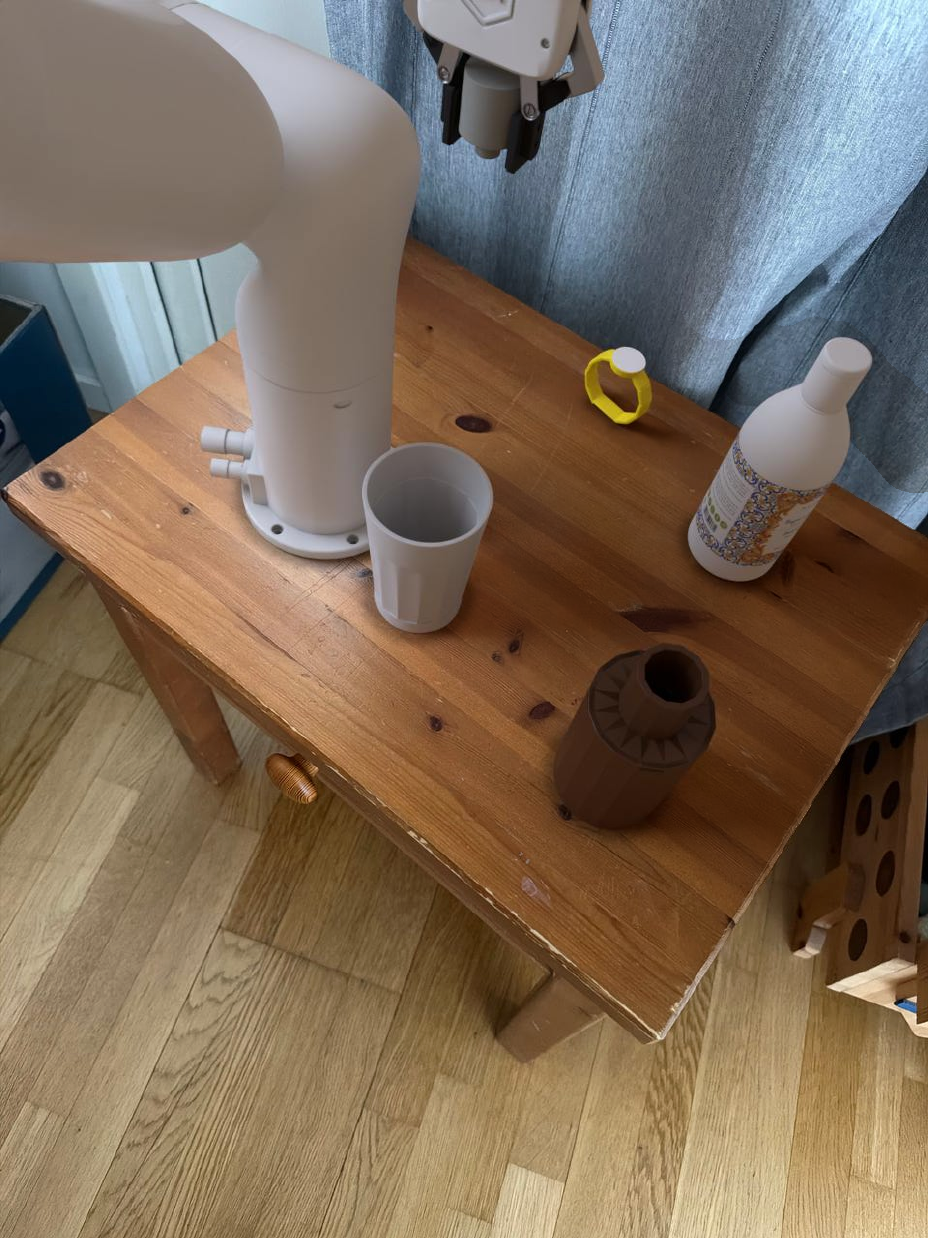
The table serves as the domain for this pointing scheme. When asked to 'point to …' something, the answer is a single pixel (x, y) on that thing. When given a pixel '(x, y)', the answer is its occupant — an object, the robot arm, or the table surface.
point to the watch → (626, 366)
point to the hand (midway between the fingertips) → (487, 147)
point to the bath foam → (779, 467)
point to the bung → (488, 106)
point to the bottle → (635, 735)
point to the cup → (424, 531)
